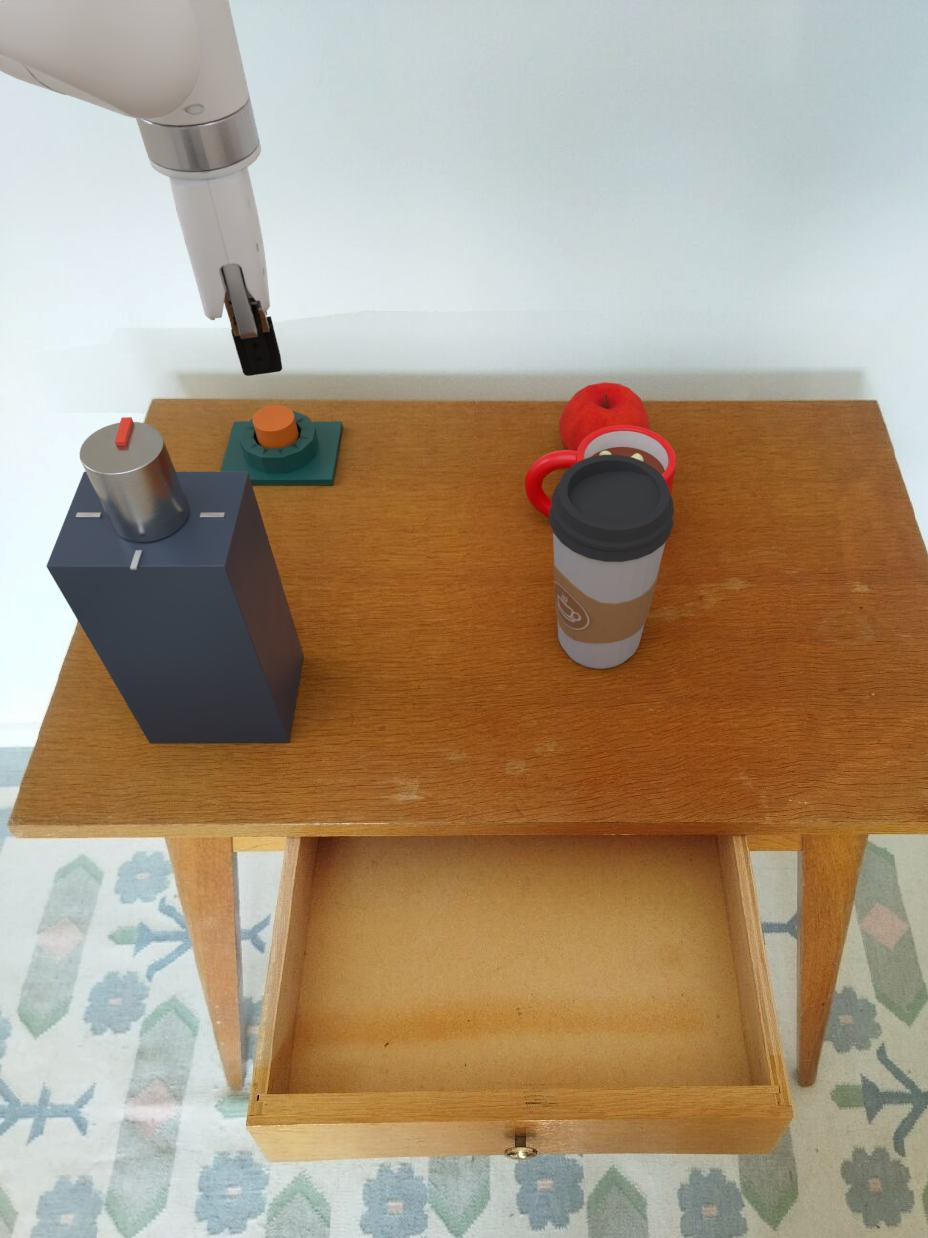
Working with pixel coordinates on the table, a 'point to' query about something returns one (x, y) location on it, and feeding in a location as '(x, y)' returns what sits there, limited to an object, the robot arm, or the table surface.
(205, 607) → the tall knob tower
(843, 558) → the table surface
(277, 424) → the button
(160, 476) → the dial
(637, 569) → the coffee cup
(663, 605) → the table surface
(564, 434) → the apple
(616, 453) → the mug
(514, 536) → the table surface
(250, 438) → the push button base
